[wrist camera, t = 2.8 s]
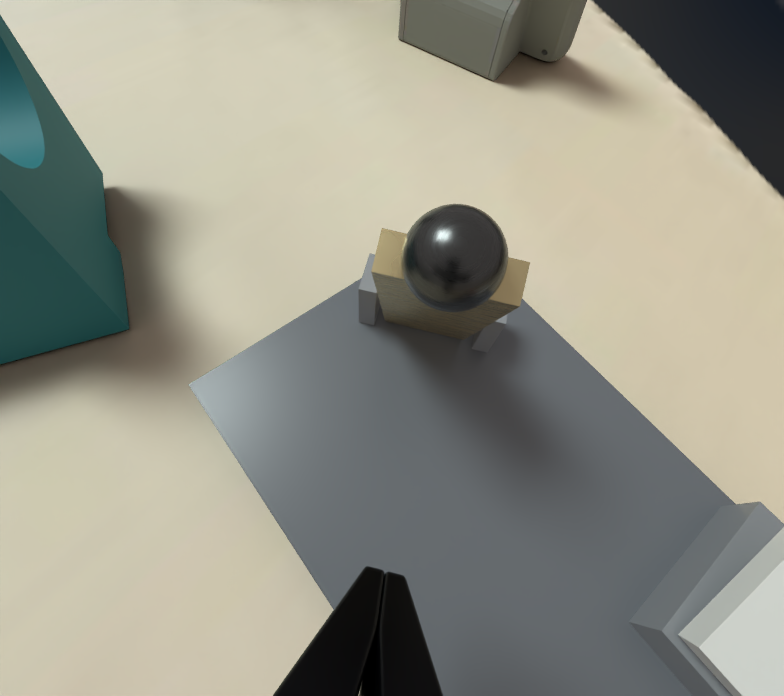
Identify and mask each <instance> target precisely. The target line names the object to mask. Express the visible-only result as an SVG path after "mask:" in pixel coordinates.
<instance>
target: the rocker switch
mask: <svg viewBox="0 0 784 696" xmlns="http://www.w3.org/2000/svg"><path fill="white" fill-rule="evenodd" d="M678 635H679V636H680V637H681V639H682V640H683V641H684V642H685V643H686V644H687V645H688V646H689V647H690V649H691V650H692V651H693V652H694V653H695V654H696V655H697V656H698V658H699V659H700V660H701V661H702V662H703V663H704V664H705V665H706V666H707V668H708V669H709V670H710V671H711V672H712V673H713V674H714V675H715V677H716V678H717V679H718V680H719V681H720V682H721V683H722V684H723V686H724V687H725V688H726V689H727V690H728V691H729V692H730V693H731V694H732V696H784V527H783V528H782V529H781V530H780V531H779V532H778V533H777V534H776V535H775V536H774V537H773V538H772V540H771V541H770V542H769V543H768V544H767V545H766V546H765V547H764V548H763V549H762V550H761V551H760V552H759V553H758V554H757V555H756V556H755V557H754V558H753V559H752V560H751V561H750V562H749V563H748V564H747V565H746V566H745V567H744V568H743V569H742V570H741V571H740V572H739V573H738V574H737V575H736V576H735V577H734V578H733V579H732V580H731V581H730V582H729V583H728V584H727V585H726V586H725V587H724V588H723V589H722V590H721V591H720V592H719V593H718V594H717V595H716V596H715V597H714V598H713V599H712V600H711V601H710V603H709V604H708V605H707V606H706V607H705V608H704V609H703V610H702V611H701V612H700V613H699V614H698V615H697V616H696V617H695V618H694V619H693V620H692V621H691V622H690V623H689V624H688V625H687V626H686V627H685V628H684V629H683V630H682V631H681V632H680V633H679V634H678Z"/></svg>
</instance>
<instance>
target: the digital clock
mask: <svg viewBox="0 0 784 696" xmlns="http://www.w3.org/2000/svg"><path fill="white" fill-rule="evenodd" d="M586 2H587V0H401V8H400V21H399V35H398V38H399V39H400V40H402V41H405V42H407V43H409V44H411V45H414V46H416V47H418V48H420V49H423V50H425V51H427V52H429V53H432V54H434V55H436V56H438V57H441V58H443V59H445V60H447V61H450V62H452V63H454V64H456V65H459V66H461V67H463V68H465V69H468V70H470V71H472V72H474V73H477V74H479V75H481V76H483V77H486V78H488V79H490V80H492V81H494V80H496V79H497V77H498V76H499V75H500V74H501V73H502V72H503V70H504V69H505V68H506V67H507V66H508V65H509V64H510V62H511V61H512V60H513V59H514V58H515V57H516V55H517V54H518V53H519V52H523V53H525V54H528V55H530V56H533V57H535V58H537V59H540V60H543V61H547V62H549V61H556V60H559V59H560V58H562V57H563V56H564V55H565V54H566V53H567V51H568V50H569V48H570V46H571V44H572V41H573V39H574V36H575V33H576V30H577V27H578V24H579V22H580V19H581V16H582V13H583V10H584V8H585V5H586Z"/></svg>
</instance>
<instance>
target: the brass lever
mask: <svg viewBox="0 0 784 696" xmlns="http://www.w3.org/2000/svg"><path fill="white" fill-rule="evenodd" d="M529 265H530V262H526V261H522V260H517V259H513V258H509V257H508V248H507V244H506V240H505V237H504V235H503V233H502V231H501V229H500V227H499V226H498V225H497V223H496V222H495V221H494V220H493V219H492V218H491V217H490V216H489V215H487V214H486V213H485V212H483V211H481V210H480V209H477V208H475V207H472V206H469V205H463V204H449V205H444V206H440V207H438V208H435V209H433V210H431V211H429V212H427V213H426V214H424V215H423V216H422V217H420V218H419V219H418V220H417V221H416V222H415V224H414V225H413V226H412V227H411V229H410V230H409V232H408V234H405V233H401V232H396V231H392V230H388V229H383V228H382V230H381V234H380V238H379V242H378V246H377V250H376V254H375V258H374V262H373V266H372V270H371V273H372V276H373V280H374V283H375V287H376V290H377V294H378V297H379V301H380V304H381V308H382V311H383V315H384V319H385V321H386V322H390V323H395V324H399V325H403V326H407V327H411V328H415V329H420V330H424V331H428V332H432V333H436V334H441V335H445V336H449V337H453V338H457V339H461V340H464V339H466V338H468V337H469V336H471V335H473V334H474V333H476V332H478V331H480V330H481V329H483V328H485V327H486V326H488V325H490V324H491V323H493V322H495V321H496V320H498V319H500V318H501V317H503V316H505V315H507V314H508V313H510V312H512V311H513V310H515V309H517V308H518V307H520V304H521V300H522V295H523V291H524V287H525V282H526V278H527V273H528V269H529Z"/></svg>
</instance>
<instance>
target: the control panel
mask: <svg viewBox="0 0 784 696" xmlns="http://www.w3.org/2000/svg"><path fill="white" fill-rule="evenodd" d="M374 258H375V255H374V254H370V255H369V258H368V261H367V264H366V267H365V270H364V273H363V276H362V278H361V279H360V280H358V281H356V282H355V283H353V284H351V285H350V286H348V287H347V288H345V289H343V290H342V291H340V292H338V293H337V294H335V295H334V296H332V297H330V298H329V299H327V300H325V301H324V302H322V303H321V304H319V305H317V306H316V307H314V308H312V309H311V310H309V311H307V312H306V313H304V314H303V315H301V316H299V317H298V318H296V319H294V320H293V321H291V322H290V323H288V324H286V325H285V326H283V327H281V328H280V329H278V330H277V331H275V332H273V333H272V334H270V335H268V336H267V337H265V338H264V339H262V340H260V341H259V342H257V343H255V344H254V345H252V346H250V347H249V348H247V349H246V350H244V351H242V352H241V353H239V354H237V355H236V356H234V357H233V358H231V359H229V360H228V361H226V362H224V363H223V364H221V365H220V366H218V367H216V368H215V369H213V370H211V371H210V372H208V373H207V374H205V375H203V376H202V377H200V378H198V379H197V380H195V381H193V382H192V383H190V384H189V386H190V388H191V390H192V391H193V393H194V394H195V396H196V397H197V399H198V400H199V402H200V403H201V405H202V407H203V408H204V410H205V411H206V413H207V414H208V416H209V417H210V419H211V420H212V422H213V424H214V425H215V427H216V428H217V430H218V431H219V433H220V434H221V436H222V438H223V439H224V441H225V442H226V444H227V445H228V447H229V448H230V450H231V451H232V453H233V455H234V456H235V458H236V459H237V461H238V462H239V464H240V465H241V467H242V468H243V470H244V472H245V473H246V475H247V476H248V478H249V479H250V481H251V482H252V484H253V485H254V487H255V489H256V490H257V492H258V493H259V495H260V496H261V498H262V499H263V501H264V503H265V504H266V506H267V507H268V509H269V510H270V512H271V513H272V515H273V516H274V518H275V520H276V521H277V523H278V524H279V526H280V527H281V529H282V530H283V532H284V533H285V535H286V537H287V538H288V540H289V541H290V543H291V544H292V546H293V547H294V549H295V550H296V552H297V554H298V555H299V557H300V558H301V560H302V561H303V563H304V564H305V566H306V567H307V569H308V571H309V572H310V574H311V575H312V577H313V578H314V580H315V581H316V583H317V585H318V586H319V588H320V589H321V591H322V592H323V594H324V595H325V597H326V598H327V600H328V602H329V603H330V605H331V606H332V608H333V609H335V608H336V606H337V605H338V604H339V602H340V601H341V599H342V598H343V597H344V595H345V594H346V592H347V591H348V590H349V588H350V587H351V585H352V584H353V583H354V581H355V580H356V578H357V577H358V576H359V574H360V573H361V571H362V570H363V569H364V568H365V567H366V566H370V567H374V568H378V569H382V570H383V571H384V575H385V573H386V572H388V571H389V572H393V573H397V574H401V575H403V576H404V577H405V578H406V580H407V583H408V586H409V589H410V593H411V596H412V599H413V602H414V605H415V608H416V612H417V615H418V618H419V621H420V624H421V627H422V630H423V634H424V637H425V640H426V643H427V646H428V649H429V652H430V656H431V659H432V662H433V665H434V668H435V671H436V674H437V678H438V681H439V684H440V687H441V690H442V693H443V696H732V694H731V693H730V692H729V691H728V690H727V689H726V688H725V687H724V686H723V684H722V683H721V682H720V681H719V680H718V679H717V678H716V677H715V675H714V674H713V673H712V672H711V671H710V670H709V669H708V668H707V666H706V665H705V664H704V663H703V662H702V661H701V660H700V659H699V658H698V656H697V655H696V654H695V653H694V652H693V651H692V650H691V649H690V647H689V646H688V645H687V644H686V643H685V642H684V641H683V640H682V639H681V637H680V636H679V635H678V634H679V633H680V632H681V631H682V630H683V629H684V628H685V627H686V626H687V625H688V624H689V623H690V622H691V621H692V620H693V619H694V618H695V617H696V616H697V615H698V614H699V613H700V612H701V611H702V610H703V609H704V608H705V607H706V606H707V605H708V604H709V603H710V601H711V600H712V599H713V598H714V597H715V596H716V595H717V594H718V593H719V592H720V591H721V590H722V589H723V588H724V587H725V586H726V585H727V584H728V583H729V582H730V581H731V580H732V579H733V578H734V577H735V576H736V575H737V574H738V573H739V572H740V571H741V570H742V569H743V568H744V567H745V566H746V565H747V564H748V563H749V562H750V561H751V560H752V559H753V558H754V557H755V556H756V555H757V554H758V553H759V552H760V551H761V550H762V549H763V548H764V547H765V546H766V545H767V544H768V543H769V542H770V541H771V540H772V538H773V537H774V536H775V535H776V534H777V533H778V532H779V531H780V530H781V529H782V528H783V527H784V524H783V523H782V522H781V521H780V520H779V519H778V518H777V517H776V516H775V515H774V514H773V513H772V512H770V511H769V510H768V509H767V508H766V507H765V506H764V505H763V504H762V503H761V502H753V503H745V504H735V503H734V502H733V501H732V500H731V499H730V498H729V497H728V496H727V495H726V494H725V493H723V492H722V491H721V490H720V489H719V488H718V487H717V486H716V485H715V484H714V483H713V482H712V481H711V480H710V479H709V478H708V477H707V476H706V475H705V474H704V473H703V472H702V471H701V470H700V469H699V468H698V467H696V466H695V465H694V464H693V463H692V462H691V461H690V460H689V459H688V458H687V457H686V456H685V455H684V454H683V453H682V452H681V451H680V450H679V449H678V448H677V447H676V446H675V445H674V444H673V443H672V442H670V441H669V440H668V439H667V438H666V437H665V436H664V435H663V434H662V433H661V432H660V431H659V430H658V429H657V428H656V427H655V426H654V425H653V424H652V423H651V422H650V421H649V420H648V419H647V418H646V417H645V416H643V415H642V414H641V413H640V412H639V411H638V410H637V409H636V408H635V407H634V406H633V405H632V404H631V403H630V402H629V401H628V400H627V399H626V398H625V397H624V396H623V395H622V394H621V393H620V392H619V391H617V390H616V389H615V388H614V387H613V386H612V385H611V384H610V383H609V382H608V381H607V380H606V379H605V378H604V377H603V376H602V375H601V374H600V373H599V372H598V371H597V370H596V369H595V368H594V367H593V366H591V365H590V364H589V363H588V362H587V361H586V360H585V359H584V358H583V357H582V356H581V355H580V354H579V353H578V352H577V351H576V350H575V349H574V348H573V347H572V346H571V345H570V344H569V343H568V342H567V341H566V340H564V339H563V338H562V337H561V336H560V335H559V334H558V333H557V332H556V331H555V330H554V329H553V328H552V327H551V326H550V325H549V324H548V323H547V322H546V321H545V320H544V319H543V318H542V317H541V316H540V315H538V314H537V313H536V312H535V311H534V310H533V309H532V308H531V307H530V306H529V305H528V304H527V303H526V302H525V301H524V300H523V299H522V300H521V304H520V307H518V308H517V309H515V310H513V311H512V312H510V313H508V314H507V315H505V316H503V317H501V318H500V319H498V320H496V321H495V322H493V323H491V324H490V325H488V326H486V327H485V328H483V329H481V330H480V331H478V332H476V333H474V334H473V335H471V336H469V337H468V338H466V339H464V340H461V339H457V338H453V337H449V336H445V335H441V334H436V333H432V332H428V331H424V330H420V329H415V328H411V327H407V326H403V325H399V324H395V323H390V322H386V321H385V319H384V315H383V311H382V308H381V304H380V301H379V297H378V294H377V290H376V287H375V283H374V280H373V276H372V273H371V270H372V266H373V262H374Z"/></svg>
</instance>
